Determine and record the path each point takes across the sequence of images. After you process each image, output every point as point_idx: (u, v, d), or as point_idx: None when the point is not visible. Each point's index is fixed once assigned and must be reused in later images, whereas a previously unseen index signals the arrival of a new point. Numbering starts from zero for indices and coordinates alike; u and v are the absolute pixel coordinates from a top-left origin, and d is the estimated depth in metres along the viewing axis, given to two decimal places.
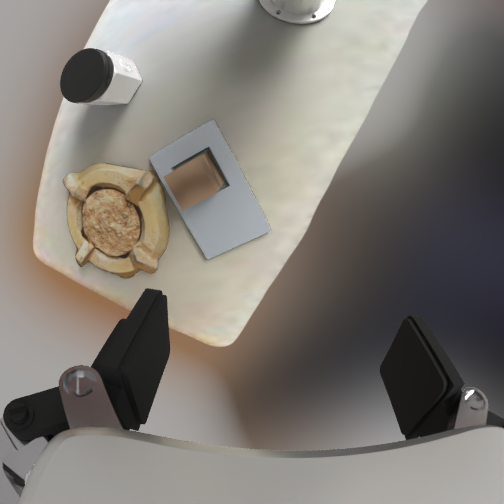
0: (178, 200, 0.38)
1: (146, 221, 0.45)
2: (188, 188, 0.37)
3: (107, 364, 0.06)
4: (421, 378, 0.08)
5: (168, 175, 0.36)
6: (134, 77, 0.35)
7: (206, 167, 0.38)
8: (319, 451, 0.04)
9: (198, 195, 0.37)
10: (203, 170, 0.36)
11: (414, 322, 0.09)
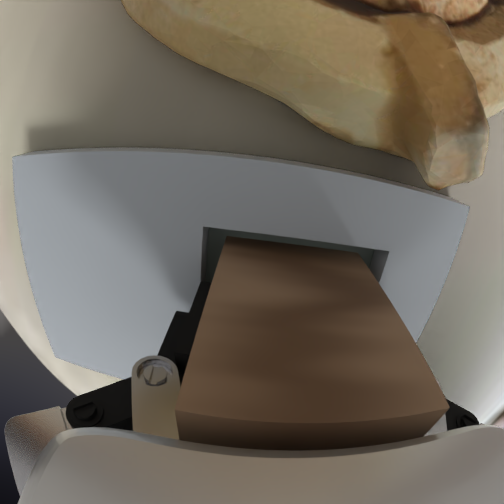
0: (266, 427, 0.04)
1: None
2: None
3: (183, 352, 0.07)
4: None
5: (425, 429, 0.04)
6: None
7: None
8: (319, 452, 0.04)
9: None
10: None
11: None
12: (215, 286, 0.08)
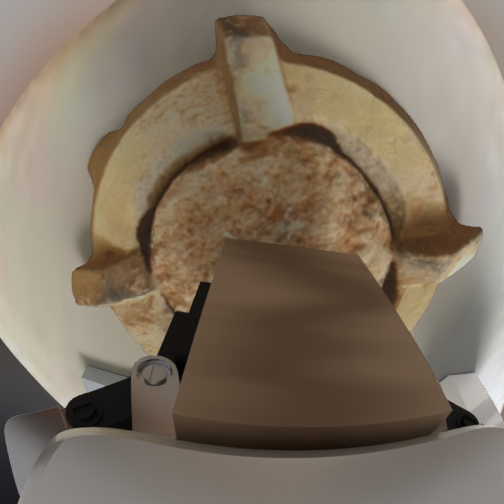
0: (266, 432, 0.04)
1: None
2: None
3: (182, 351, 0.07)
4: None
5: (427, 432, 0.04)
6: None
7: None
8: (319, 451, 0.04)
9: None
10: None
11: None
12: (214, 288, 0.08)
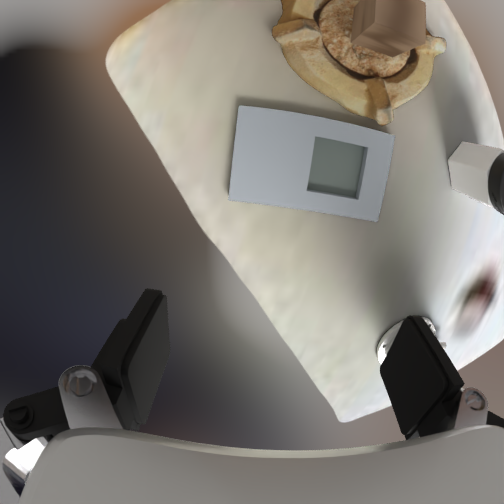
0: None
1: (340, 74, 0.27)
2: (397, 6, 0.16)
3: (107, 364, 0.06)
4: (421, 378, 0.08)
5: (423, 7, 0.15)
6: (463, 193, 0.31)
7: (401, 40, 0.19)
8: (319, 452, 0.04)
9: (383, 6, 0.16)
10: (408, 34, 0.17)
11: (415, 322, 0.09)
12: None
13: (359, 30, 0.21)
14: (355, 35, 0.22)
